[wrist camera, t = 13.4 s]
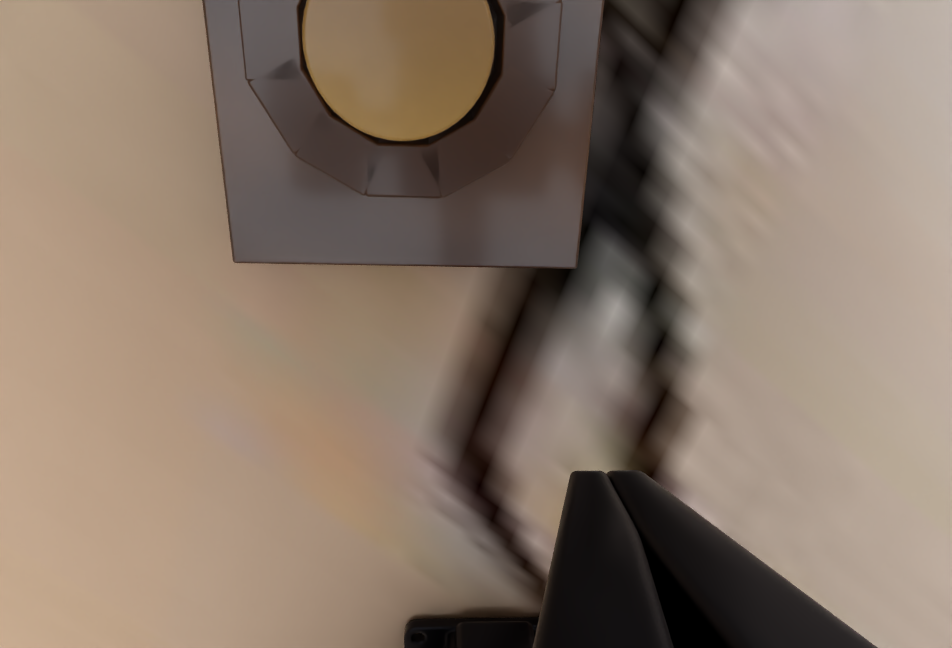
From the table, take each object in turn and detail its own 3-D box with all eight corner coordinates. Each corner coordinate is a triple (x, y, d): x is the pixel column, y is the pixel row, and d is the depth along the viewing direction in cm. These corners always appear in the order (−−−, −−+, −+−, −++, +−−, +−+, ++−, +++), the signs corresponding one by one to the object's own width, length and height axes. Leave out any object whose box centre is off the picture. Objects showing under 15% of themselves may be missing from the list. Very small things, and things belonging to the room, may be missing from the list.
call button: (484, 131, 15) (490, 144, 13) (321, 126, 15) (307, 139, 13) (492, -53, 14) (499, -63, 12) (310, -62, 13) (294, -73, 12)
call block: (566, 249, 19) (591, 294, 16) (249, 243, 19) (211, 289, 16) (611, -224, 15) (657, -290, 12) (196, -250, 14) (128, -326, 11)
